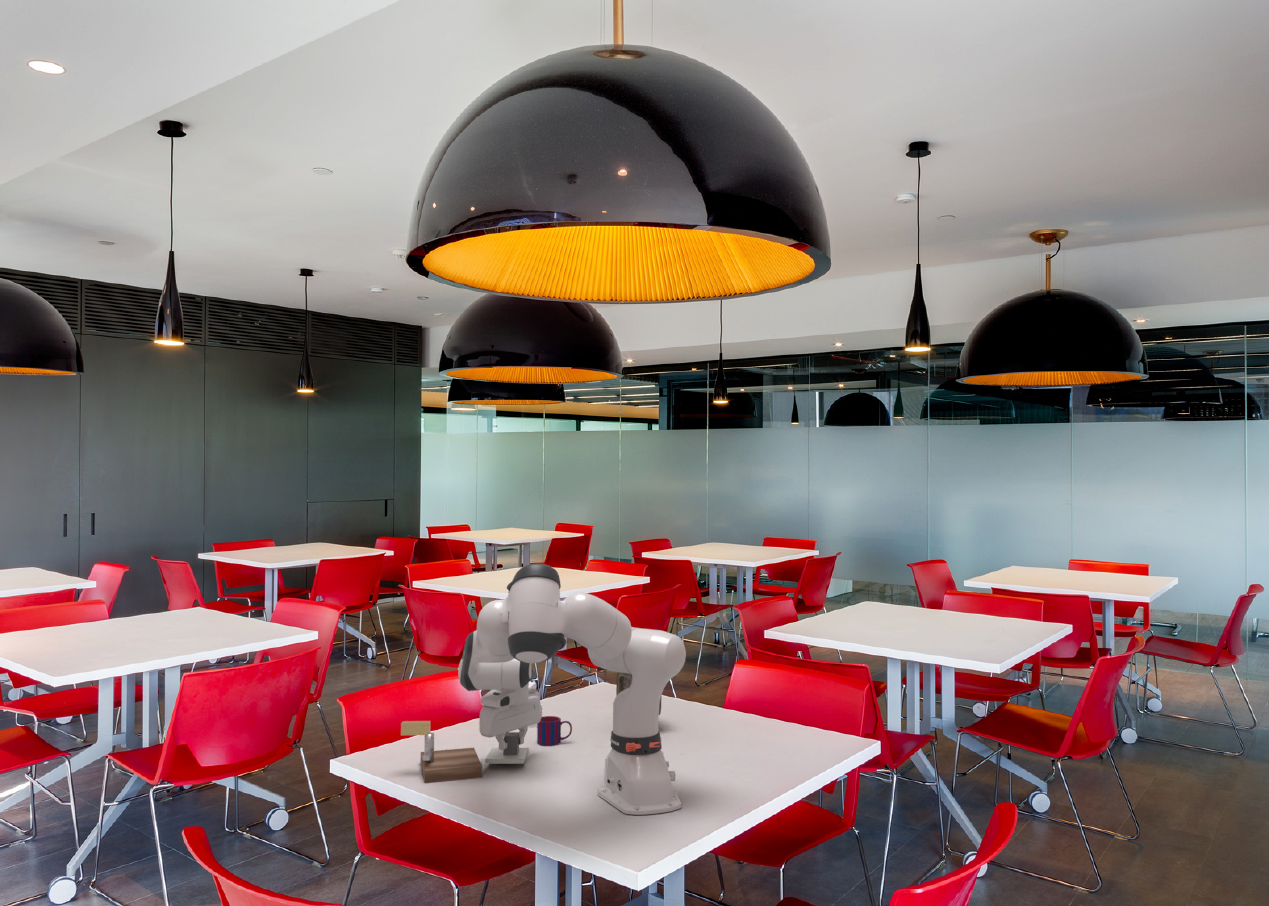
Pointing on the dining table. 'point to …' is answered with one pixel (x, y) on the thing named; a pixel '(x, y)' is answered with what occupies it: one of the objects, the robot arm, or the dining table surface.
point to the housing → (452, 765)
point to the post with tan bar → (421, 729)
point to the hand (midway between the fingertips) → (511, 746)
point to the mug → (550, 731)
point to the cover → (508, 751)
